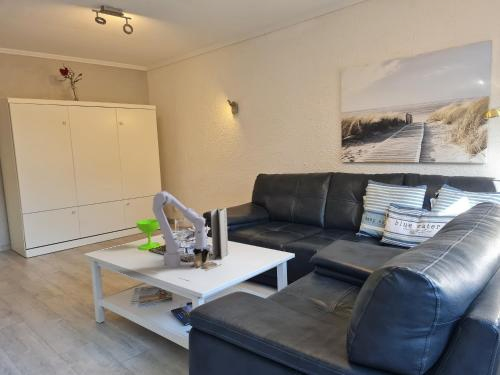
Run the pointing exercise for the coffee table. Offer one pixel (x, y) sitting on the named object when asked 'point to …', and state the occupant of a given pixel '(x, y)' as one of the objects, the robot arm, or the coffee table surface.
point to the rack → (203, 265)
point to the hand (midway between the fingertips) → (201, 261)
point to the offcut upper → (209, 265)
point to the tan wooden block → (200, 260)
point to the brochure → (219, 233)
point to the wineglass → (148, 227)
